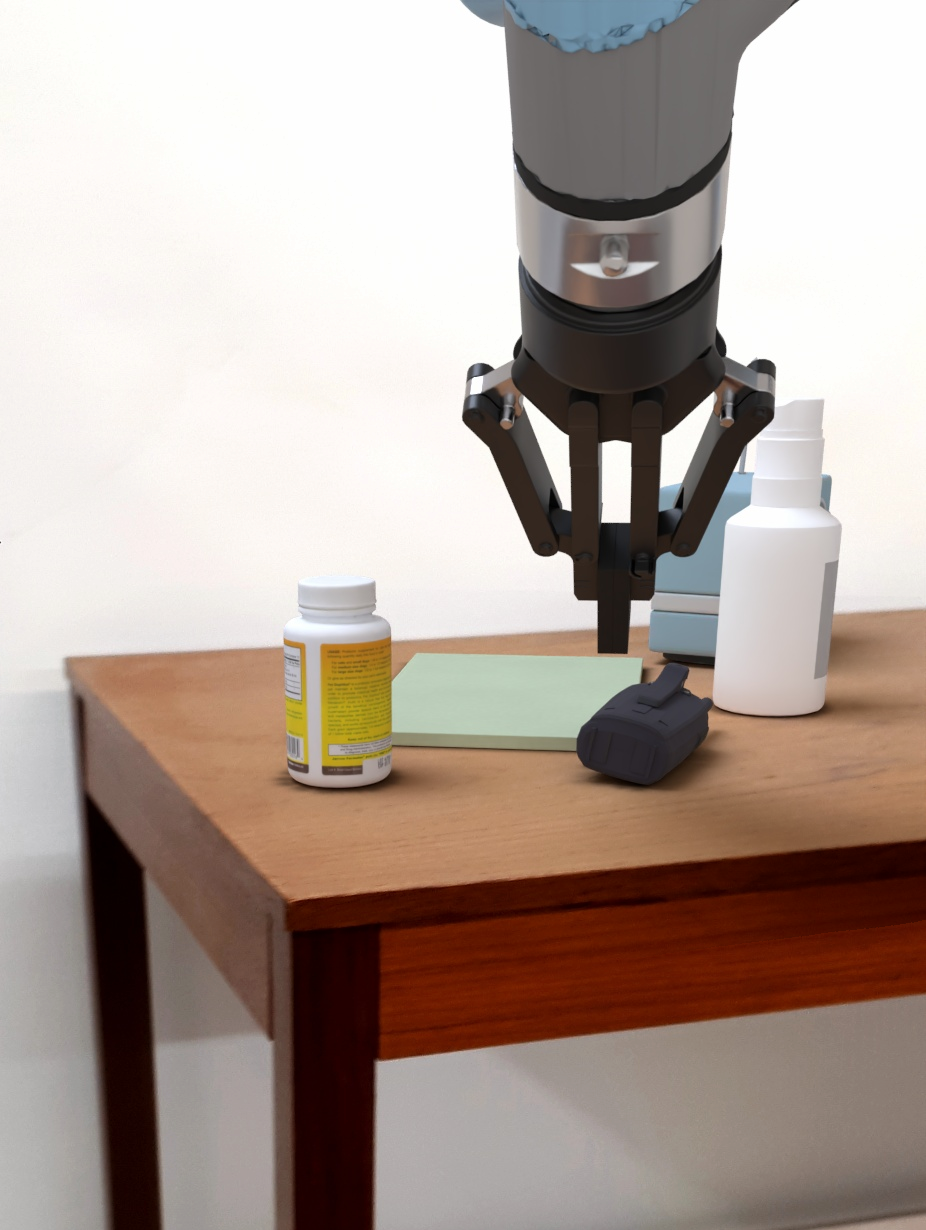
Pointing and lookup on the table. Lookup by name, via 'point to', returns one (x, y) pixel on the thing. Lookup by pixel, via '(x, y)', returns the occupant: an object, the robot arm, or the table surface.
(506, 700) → the mat
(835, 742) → the table surface
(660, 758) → the two-way radio
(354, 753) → the supplement bottle
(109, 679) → the table surface
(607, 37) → the robot arm
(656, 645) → the radio
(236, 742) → the table surface
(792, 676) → the spray bottle
